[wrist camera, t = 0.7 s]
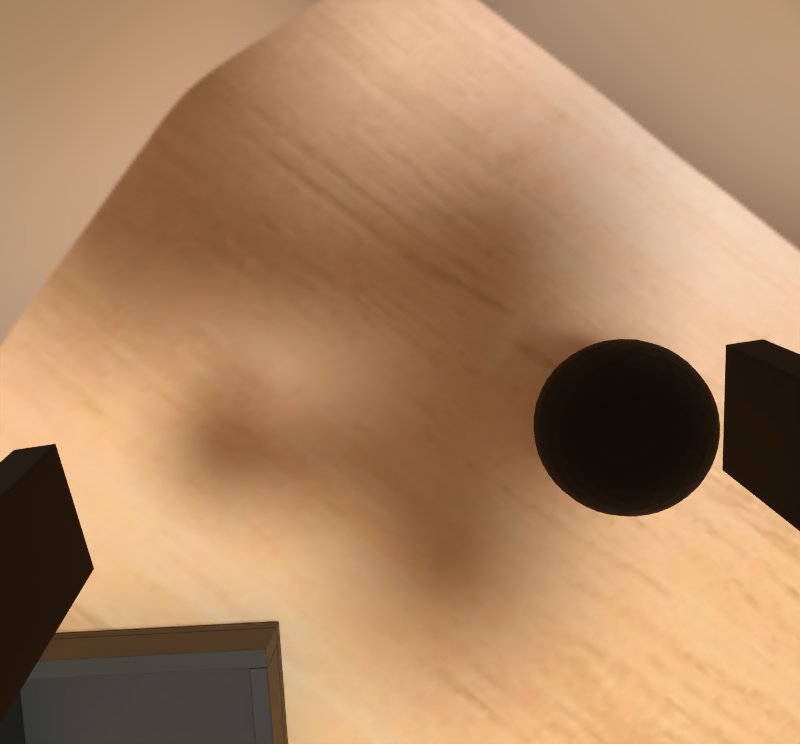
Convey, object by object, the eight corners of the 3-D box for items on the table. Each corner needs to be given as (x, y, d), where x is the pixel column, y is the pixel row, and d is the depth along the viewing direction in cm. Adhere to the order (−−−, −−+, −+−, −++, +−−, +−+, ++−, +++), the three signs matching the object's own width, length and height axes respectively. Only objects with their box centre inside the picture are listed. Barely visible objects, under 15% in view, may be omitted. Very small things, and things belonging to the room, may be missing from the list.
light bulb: (527, 319, 29) (588, 316, 19) (656, 357, 29) (783, 374, 19) (488, 446, 30) (528, 508, 20) (615, 484, 30) (719, 564, 20)
